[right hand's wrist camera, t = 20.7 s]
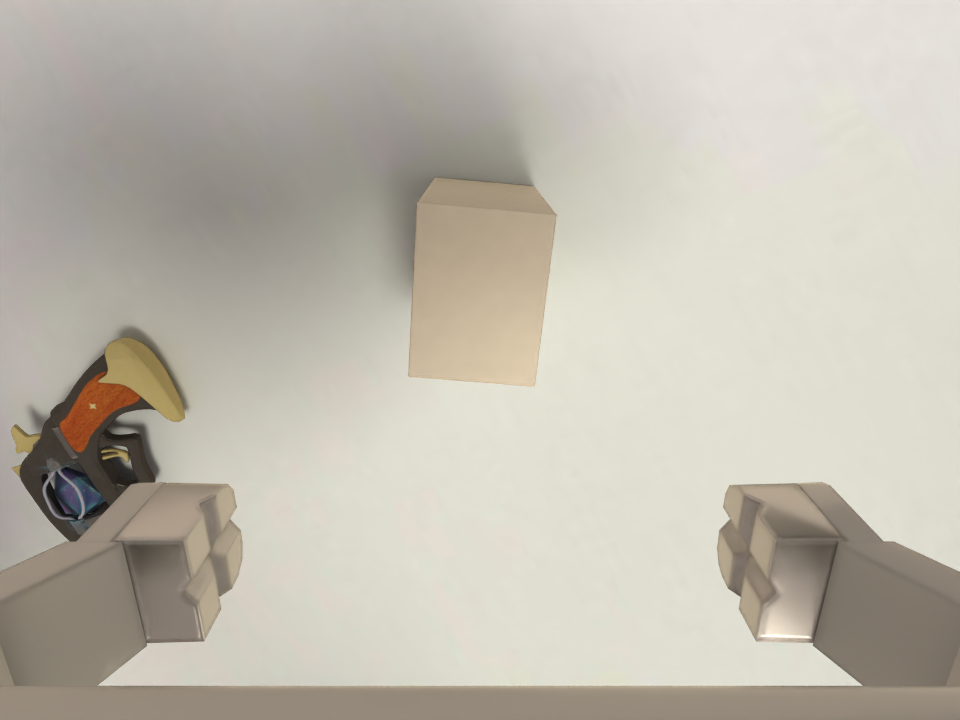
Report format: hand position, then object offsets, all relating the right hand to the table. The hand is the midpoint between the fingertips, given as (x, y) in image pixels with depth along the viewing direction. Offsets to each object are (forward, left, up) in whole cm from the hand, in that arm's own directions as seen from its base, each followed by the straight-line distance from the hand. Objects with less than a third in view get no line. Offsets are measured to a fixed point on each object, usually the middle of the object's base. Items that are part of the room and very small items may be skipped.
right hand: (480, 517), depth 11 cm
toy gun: (-24, -8, -24) cm, 34 cm away
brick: (0, 0, -24) cm, 24 cm away
